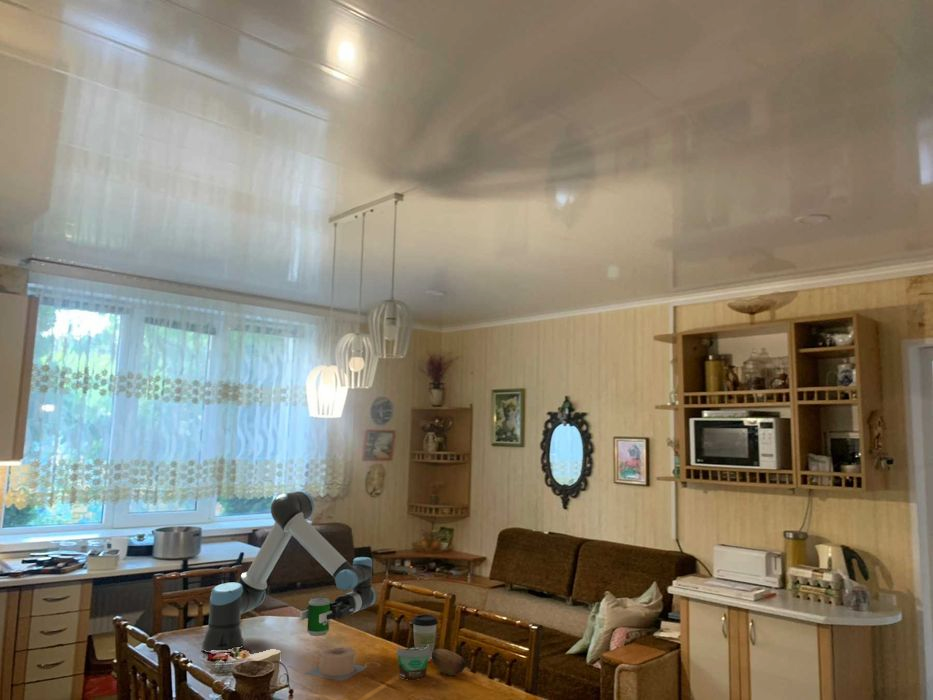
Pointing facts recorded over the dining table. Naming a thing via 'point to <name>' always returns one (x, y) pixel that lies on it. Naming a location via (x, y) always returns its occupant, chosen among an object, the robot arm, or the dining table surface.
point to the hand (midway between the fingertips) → (310, 617)
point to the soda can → (317, 616)
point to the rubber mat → (316, 673)
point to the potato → (448, 661)
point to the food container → (413, 662)
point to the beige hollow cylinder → (336, 661)
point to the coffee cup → (425, 631)
